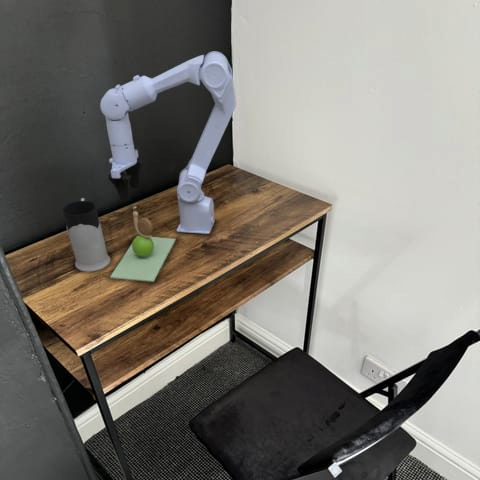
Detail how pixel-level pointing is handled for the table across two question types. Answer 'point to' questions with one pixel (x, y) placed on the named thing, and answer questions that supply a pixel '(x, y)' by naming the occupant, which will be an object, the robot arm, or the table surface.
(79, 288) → the table surface
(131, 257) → the desk pad
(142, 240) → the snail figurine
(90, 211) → the glass holder
